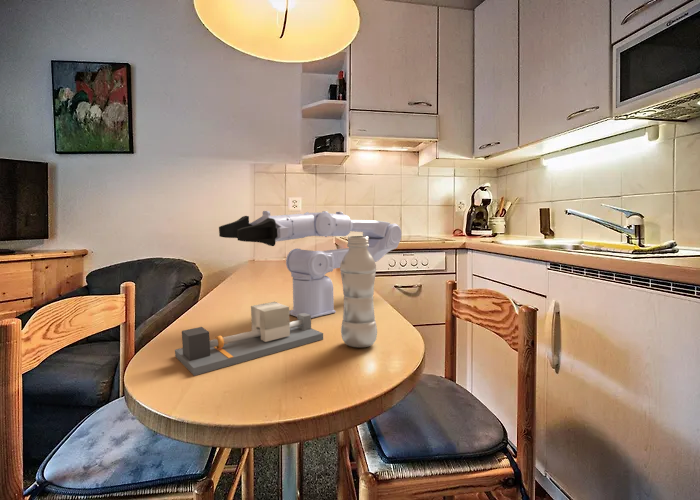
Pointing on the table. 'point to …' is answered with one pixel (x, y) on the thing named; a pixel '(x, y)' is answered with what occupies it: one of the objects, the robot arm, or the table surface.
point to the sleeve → (271, 320)
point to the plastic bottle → (358, 294)
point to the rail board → (238, 346)
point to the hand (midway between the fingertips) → (228, 233)
